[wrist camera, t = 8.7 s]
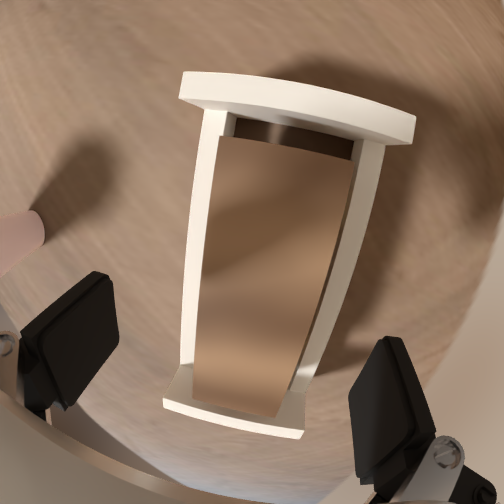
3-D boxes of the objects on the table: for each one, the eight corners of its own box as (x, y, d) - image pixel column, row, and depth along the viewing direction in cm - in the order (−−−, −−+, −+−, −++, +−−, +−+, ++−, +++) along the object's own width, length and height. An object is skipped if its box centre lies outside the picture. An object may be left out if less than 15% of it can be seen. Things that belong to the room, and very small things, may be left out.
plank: (241, 140, 14) (219, 135, 10) (337, 159, 13) (355, 161, 9) (211, 352, 19) (191, 398, 15) (280, 368, 18) (275, 417, 14)
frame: (221, 96, 15) (183, 71, 9) (376, 127, 14) (416, 116, 9) (190, 355, 22) (163, 407, 16) (301, 380, 21) (299, 439, 16)
